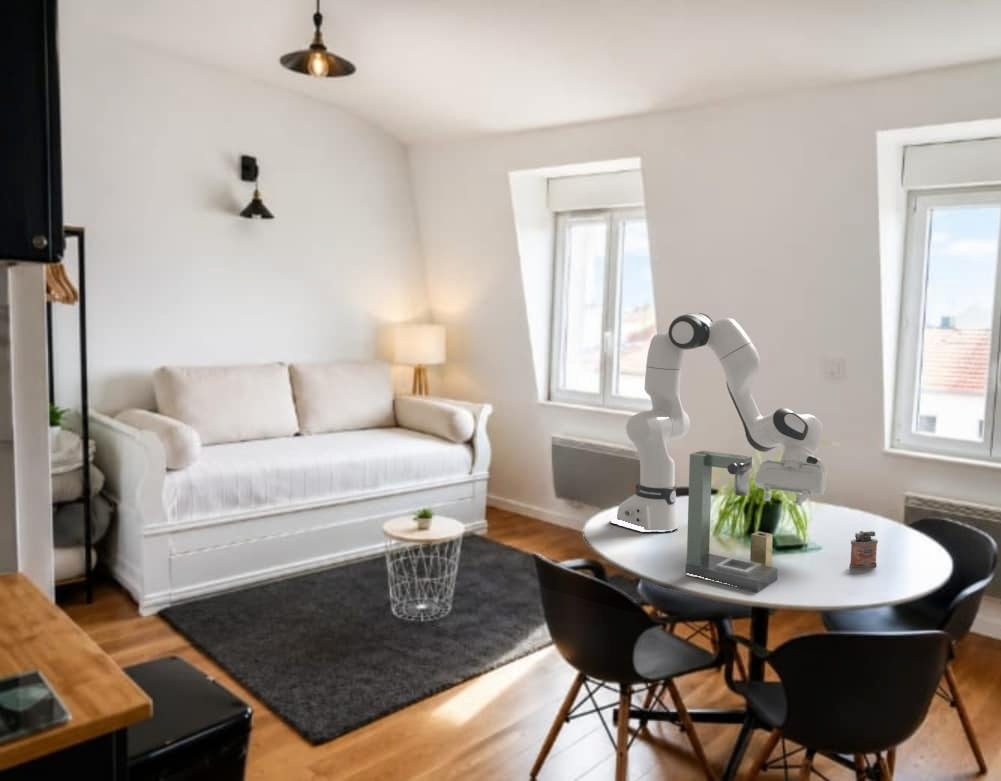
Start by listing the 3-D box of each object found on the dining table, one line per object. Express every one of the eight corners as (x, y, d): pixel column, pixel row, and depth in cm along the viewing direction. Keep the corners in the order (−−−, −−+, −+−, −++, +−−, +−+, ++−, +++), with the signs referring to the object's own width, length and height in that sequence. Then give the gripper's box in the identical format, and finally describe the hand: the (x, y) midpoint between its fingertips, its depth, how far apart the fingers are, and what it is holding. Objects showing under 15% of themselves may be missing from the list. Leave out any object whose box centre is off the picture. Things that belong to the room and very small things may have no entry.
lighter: (855, 569, 222) (856, 534, 221) (846, 565, 226) (848, 531, 225) (879, 567, 225) (881, 532, 224) (870, 563, 228) (872, 528, 227)
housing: (749, 565, 225) (751, 533, 224) (756, 562, 229) (757, 530, 228) (765, 569, 223) (766, 536, 222) (771, 565, 226) (772, 533, 225)
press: (676, 580, 213) (680, 457, 210) (707, 563, 227) (710, 448, 224) (749, 597, 200) (754, 466, 197) (777, 579, 214) (782, 456, 211)
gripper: (759, 453, 245) (744, 491, 239) (827, 460, 231) (813, 500, 225) (765, 466, 248) (751, 503, 242) (832, 473, 234) (819, 513, 228)
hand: (781, 502), depth 233 cm, fingers open, 8 cm apart
